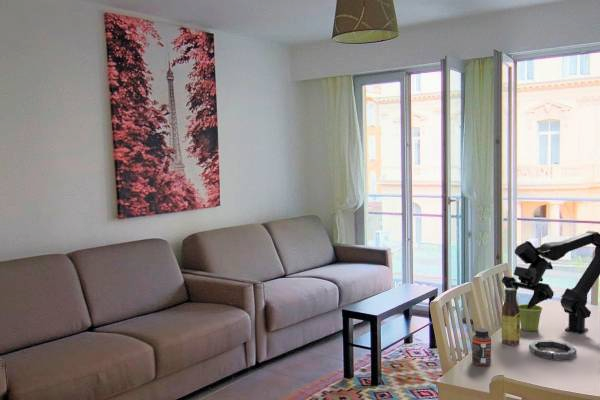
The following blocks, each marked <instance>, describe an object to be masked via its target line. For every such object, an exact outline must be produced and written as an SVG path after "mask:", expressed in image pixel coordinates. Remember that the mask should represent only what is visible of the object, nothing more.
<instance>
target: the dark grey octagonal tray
mask: <svg viewBox="0 0 600 400" xmlns="http://www.w3.org/2000/svg"><path fill="white" fill-rule="evenodd" d="M528 350H529V352H530V353H531V354H533V356H536V357H538V358H541V359H547V360H553V361H567V360H572V359H573V358H575V356H576V355H577V349H576V348H575V347H574V346H573V345H571V344H570V343H567V342H562V341H557V340H553V339H551V340H550V339H548V340H545V339H544V340H541V339H540V340H538V339H537V340H534V341H533V342H531V343H529V344H528Z"/></svg>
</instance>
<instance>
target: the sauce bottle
mask: <svg viewBox="0 0 600 400" xmlns="http://www.w3.org/2000/svg"><path fill="white" fill-rule="evenodd" d="M504 293H505V294H504V295H505V296H504V297H505V300H504V304H502V306H501V342H502V343H503V344H504V345H508V346H516V345H519V344H520V340H521V323H520V310H519V307H518V305H519V304H518V302H517V293H518V289H514V288H506V287H505V288H504Z"/></svg>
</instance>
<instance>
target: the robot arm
mask: <svg viewBox="0 0 600 400" xmlns="http://www.w3.org/2000/svg"><path fill="white" fill-rule="evenodd" d="M590 244H592V245H593V246H595V247H594V256H593V258H592V260H591V262H590V263H589V264H588V266H587V268H586V270H584V272H583V273H582V275H581V277H580V279H579V280H578V281H577V283H576V285H575V286H574V287H573V288H566V289H565V290H564V292H563V294H562V295H561V296H560V297H561V298H560V305H561V307H562V308H563V311H564V313H567V314H568V327H566V328H564V331H566V332H572V333H577V334H584V333H586V332H588V331H589V328H586V319H587V318H590V317H591V314H592V312H591V310H590V309H589V308H588V307H587V306H586V305H587V304H588V294H589V292H590V290H591V289H592V287H593V286H594V285H595V283H596V281H597V279H599V277H600V233H599V231H593V230H588V231H586V232H584V233H580V234H578V235H575V236H573V237H572V236H571V237H570V238H566V239H563V240H561V241H549V242H545V243H543V244H541V245H540V246H538V247H537V246H536V247H535V246H534V245H533V243H532V242H531V241H528V240H525V242H522V243H520V244H519V245H517V247H515V249H514V254H515V255H516V256H517V257H518V258H519V259H520V260H521V261H522V262H523V263H524V264H526V265H528V264H529V266H528V268H526V267H521V266H516V265H515V268H514V272H513V275H514V276H517V279H518V280H519V281H517V279H515V278H514V276H509V275H504V276H503V277H502V279H501V280H500V281H501V283H502V284H503V286H505V289H506V288H514V289H517V290H518V289H519V288H521V289H524V290H528V291H529V290H530V291H533V294H532V295H531V298H530V300H529V301H528V302H527V303H528V306H527V308H528V309H530V308H531V307H533V306H535V305H539V304H540V303H542V302H543V301H548V299H549V300H552V299H553V297H554V296H555V295H554V291H553V289H552V288H551V286H550V285H549V284H548V283H543V281H544V279H543V275H544V274H545V272H546V270H553V269H554V267H553V265H552V262H551V261H555V262H556V261H558V260H560V259H562V258H563V257H565V255H566V254H568V253H569V252H572V251H575V250H578V249H580V248H583V247H585V246H588V245H590ZM548 260H549V261H548Z"/></svg>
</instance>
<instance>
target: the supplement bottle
mask: <svg viewBox="0 0 600 400" xmlns="http://www.w3.org/2000/svg"><path fill="white" fill-rule="evenodd" d="M471 342H472V344H471V347H472V348H471V350H472V351H471V361H472V363H473V364H474V365H477V366H482V367H483V366H484V367H485V366H489V365H491V362H492V337H491V336H490V335H489V330H488V329H487V328H484V327H483V328H482V327H481V328H480V327H478V328H476V329H475V334H473V336H472V340H471Z"/></svg>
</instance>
